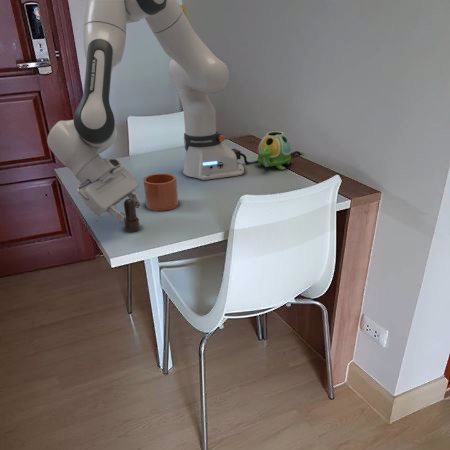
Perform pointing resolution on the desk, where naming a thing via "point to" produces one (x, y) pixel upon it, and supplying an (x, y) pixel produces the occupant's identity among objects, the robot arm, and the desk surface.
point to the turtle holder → (274, 150)
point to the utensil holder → (160, 192)
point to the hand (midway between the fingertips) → (132, 212)
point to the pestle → (131, 216)
